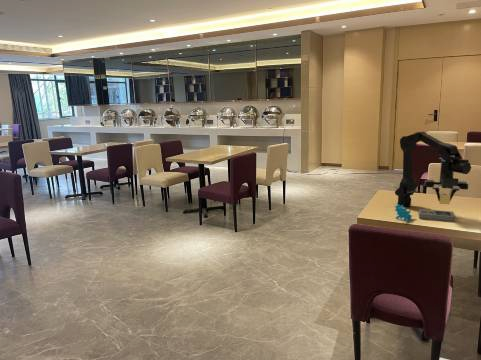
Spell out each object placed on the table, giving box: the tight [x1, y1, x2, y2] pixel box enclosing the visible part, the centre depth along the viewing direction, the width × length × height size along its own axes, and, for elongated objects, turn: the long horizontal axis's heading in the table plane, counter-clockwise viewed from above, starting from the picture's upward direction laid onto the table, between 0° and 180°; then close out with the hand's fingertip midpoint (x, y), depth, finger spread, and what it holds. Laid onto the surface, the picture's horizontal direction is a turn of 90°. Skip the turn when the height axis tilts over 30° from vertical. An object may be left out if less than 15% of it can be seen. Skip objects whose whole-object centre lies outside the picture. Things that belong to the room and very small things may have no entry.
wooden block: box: [438, 192, 451, 206], centre depth 186 cm, size 4×4×5 cm
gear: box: [394, 204, 413, 223], centre depth 188 cm, size 11×6×10 cm
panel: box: [418, 208, 457, 223], centre depth 189 cm, size 16×9×3 cm, turn 68°
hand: (444, 201), depth 186 cm, fingers closed on wooden block, 4 cm apart
